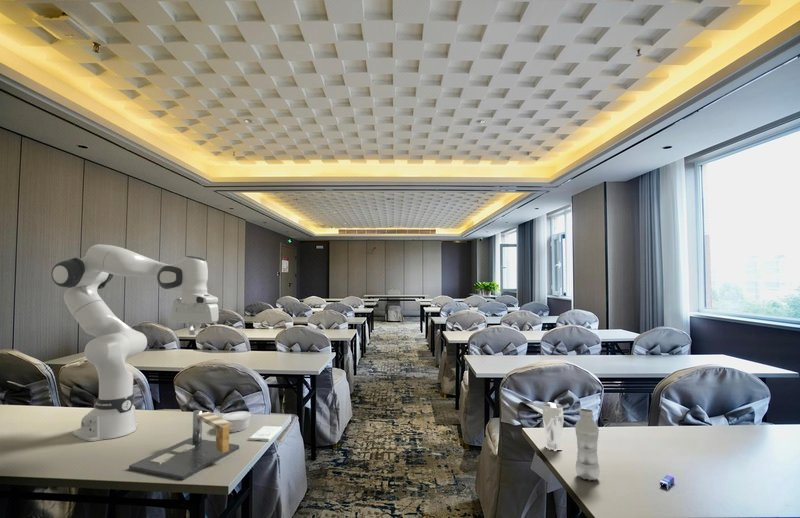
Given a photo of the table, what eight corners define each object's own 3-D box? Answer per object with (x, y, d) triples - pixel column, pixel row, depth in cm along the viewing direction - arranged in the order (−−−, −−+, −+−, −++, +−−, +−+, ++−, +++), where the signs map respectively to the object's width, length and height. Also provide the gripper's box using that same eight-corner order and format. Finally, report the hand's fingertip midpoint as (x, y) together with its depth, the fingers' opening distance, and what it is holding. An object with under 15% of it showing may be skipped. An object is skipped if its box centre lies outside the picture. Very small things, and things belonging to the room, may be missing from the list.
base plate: (129, 469, 127) (130, 430, 127) (190, 440, 149) (191, 408, 150) (183, 480, 120) (184, 439, 120) (239, 448, 142) (239, 414, 143)
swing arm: (196, 437, 144) (197, 414, 145) (207, 433, 147) (208, 411, 148) (222, 453, 131) (223, 427, 131) (234, 449, 134) (235, 424, 134)
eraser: (659, 488, 115) (659, 480, 115) (666, 481, 119) (666, 474, 119) (667, 490, 114) (667, 483, 114) (674, 484, 117) (674, 477, 118)
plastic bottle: (571, 473, 123) (569, 407, 125) (592, 472, 124) (590, 406, 125) (582, 484, 117) (581, 414, 118) (605, 483, 118) (602, 413, 119)
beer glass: (564, 446, 144) (563, 403, 145) (563, 453, 138) (562, 409, 139) (544, 442, 147) (543, 401, 148) (542, 450, 141) (541, 406, 142)
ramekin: (235, 422, 170) (235, 409, 170) (256, 425, 166) (256, 412, 166) (214, 431, 159) (214, 418, 159) (237, 435, 155) (237, 421, 156)
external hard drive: (282, 430, 161) (269, 442, 149) (262, 430, 162) (247, 442, 150) (282, 426, 161) (269, 438, 149) (262, 425, 162) (248, 437, 150)
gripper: (166, 298, 154) (165, 334, 153) (209, 298, 148) (208, 336, 147) (180, 297, 160) (179, 332, 159) (221, 298, 154) (220, 334, 153)
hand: (193, 334), depth 153 cm, fingers closed
